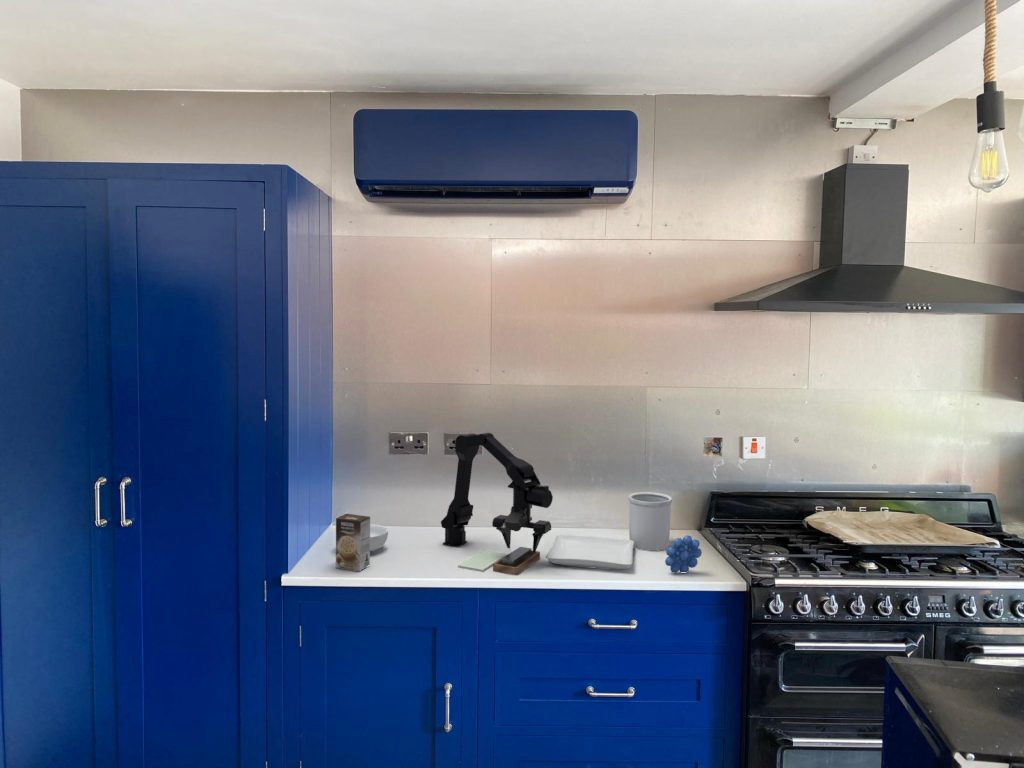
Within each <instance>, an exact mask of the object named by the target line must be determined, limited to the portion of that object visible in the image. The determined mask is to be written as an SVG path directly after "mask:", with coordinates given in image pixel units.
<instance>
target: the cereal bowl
mask: <svg viewBox="0 0 1024 768" xmlns="http://www.w3.org/2000/svg"><path fill="white" fill-rule="evenodd" d="M388 533H389V531H388V528H387V526H383V525H380V524H374V523H370V551H373V550H374V551H376V550H378V549H380V548H382V547H383V546H384V545H385V543H386V542H387V539H388V535H389V534H388ZM374 551H373V552H374Z"/></svg>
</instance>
